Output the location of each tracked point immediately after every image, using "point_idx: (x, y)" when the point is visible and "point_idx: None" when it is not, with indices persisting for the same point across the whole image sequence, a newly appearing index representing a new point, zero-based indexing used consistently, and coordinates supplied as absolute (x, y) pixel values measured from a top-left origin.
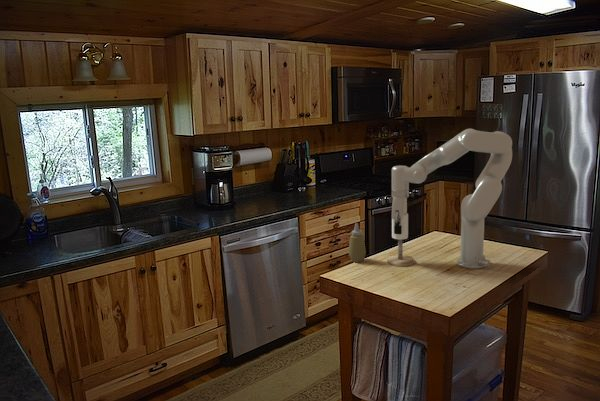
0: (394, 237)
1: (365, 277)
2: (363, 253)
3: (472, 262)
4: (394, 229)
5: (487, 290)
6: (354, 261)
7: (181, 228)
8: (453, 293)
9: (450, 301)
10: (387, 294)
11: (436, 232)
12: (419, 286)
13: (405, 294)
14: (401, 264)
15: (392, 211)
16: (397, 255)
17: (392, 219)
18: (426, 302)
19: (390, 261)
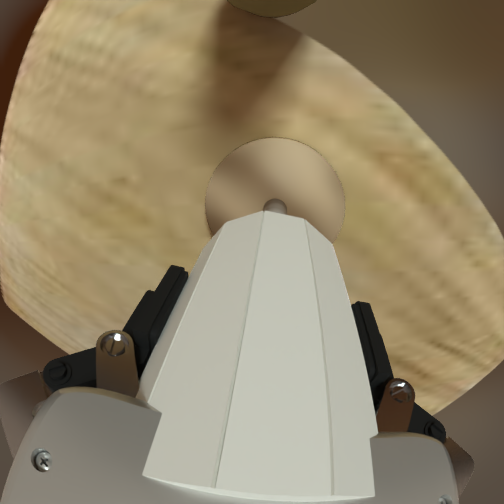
0: (210, 241)
1: (67, 89)
2: (237, 4)
3: None
4: (155, 293)
5: None
6: None
7: None
8: (69, 332)
9: (39, 318)
10: (3, 194)
11: None
12: (63, 270)
13: (17, 236)
14: (207, 215)
15: (3, 493)
16: (333, 194)
17: (187, 376)
18: (14, 277)
19: (225, 160)
